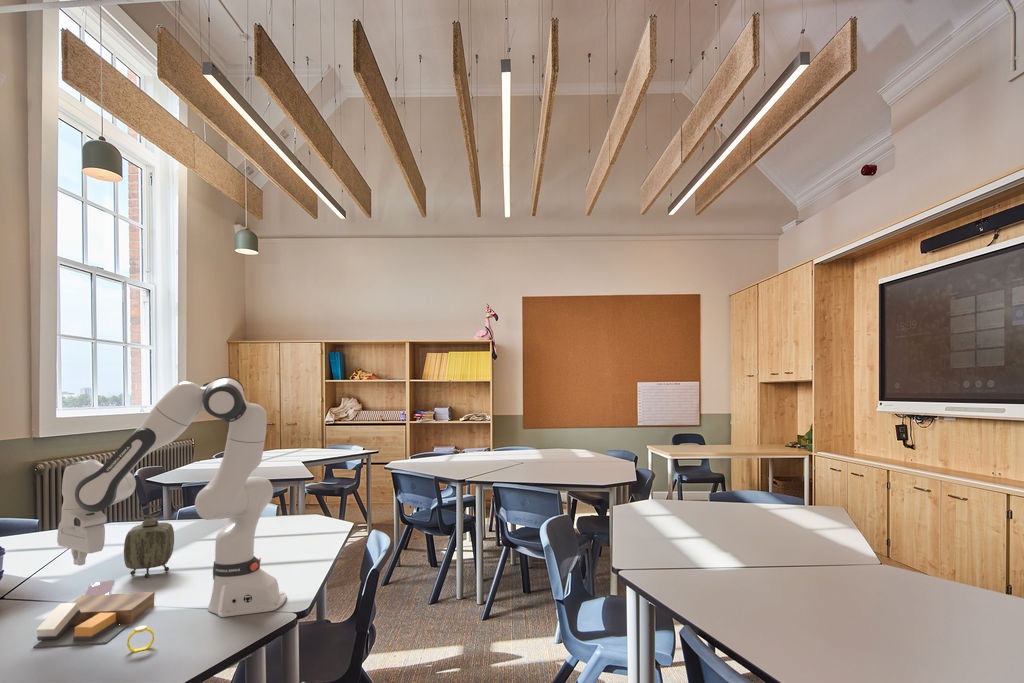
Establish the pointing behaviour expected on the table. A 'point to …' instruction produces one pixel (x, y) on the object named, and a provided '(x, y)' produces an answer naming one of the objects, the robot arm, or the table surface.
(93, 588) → the mobile phone
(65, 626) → the block
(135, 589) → the table surface
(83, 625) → the eraser orange
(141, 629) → the watch
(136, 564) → the tabletop clock
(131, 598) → the riser
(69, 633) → the mat
